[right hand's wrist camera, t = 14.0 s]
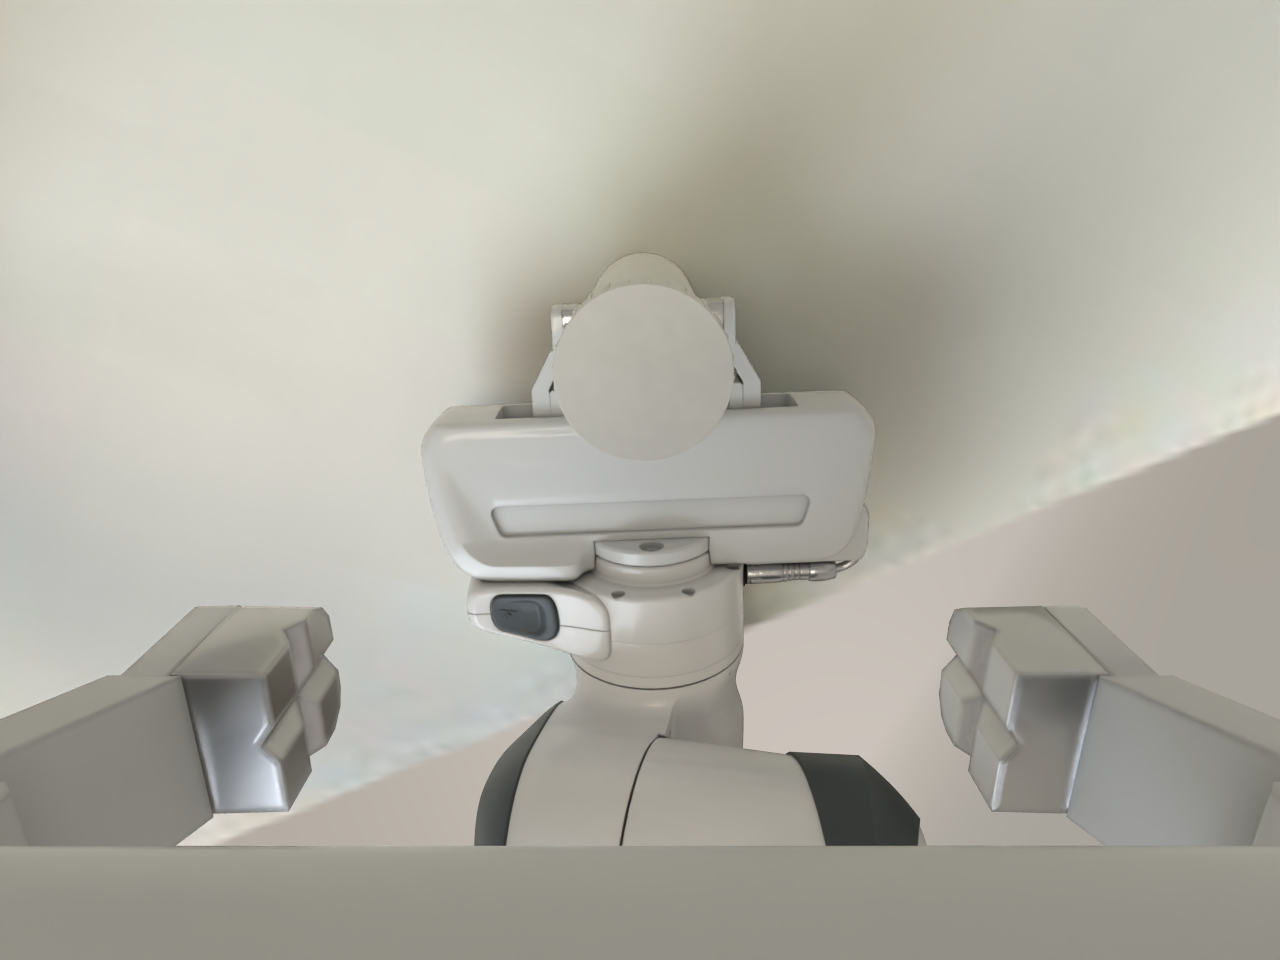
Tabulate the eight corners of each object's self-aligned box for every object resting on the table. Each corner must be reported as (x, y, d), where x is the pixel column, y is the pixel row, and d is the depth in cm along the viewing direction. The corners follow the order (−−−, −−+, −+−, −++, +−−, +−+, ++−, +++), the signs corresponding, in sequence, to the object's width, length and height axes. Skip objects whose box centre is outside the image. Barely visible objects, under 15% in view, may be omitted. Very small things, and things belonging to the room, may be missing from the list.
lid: (568, 261, 25) (563, 266, 24) (747, 291, 25) (753, 298, 24) (545, 434, 27) (540, 449, 26) (712, 460, 27) (716, 476, 26)
